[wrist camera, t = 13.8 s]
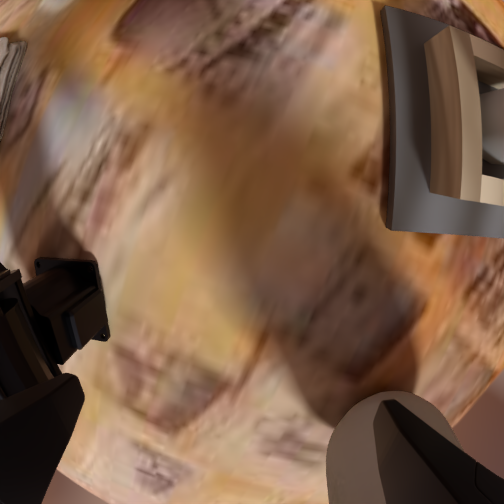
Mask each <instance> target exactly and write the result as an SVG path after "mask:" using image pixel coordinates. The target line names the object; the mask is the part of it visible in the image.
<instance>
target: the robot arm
mask: <svg viewBox="0 0 504 504" xmlns="http://www.w3.org/2000/svg"><path fill="white" fill-rule="evenodd" d="M39 263H40V264H39ZM34 264H35V270H36V275H37V276H36V277H34V278H32V279H30V280H29V281H27V282H25V283H22V280H21V278H22V276H21V273H20V270H19V269H17V270H13V271H10V270H8V269H6V268H5V267H4V266H3V265H2V264H1V263H0V504H41V503H42V501H43V498H44V496H45V494H46V491H47V489H48V487H49V484H50V482H51V480H52V477H53V475H54V473H55V470H56V468H57V466H58V464H59V462H60V460H61V458H62V455H63V453H64V451H65V449H66V447H67V445H68V443H69V440H70V438H71V436H72V433H73V431H74V428H75V425H76V422H77V419H78V417H79V414H80V411H81V409H82V406H83V403H84V400H85V395H84V392H83V389H82V387H81V384H80V381H79V379H78V377H77V376H76V375H73V374H70V373H63V374H62V372H61V370H60V368H59V367H58V365H57V364H60V365H63V364H64V363H65V362H66V361H67V360H68V359H69V358H70V357H71V356H72V355H73V354H74V353H75V352H76V351H77V350H81V349H82V348H83V347H84V346H85V345H86V344H87V343H88V342H89V341H90V340H91V339H93V340H98V341H103V342H106V341H107V340H108V339H109V338H110V331H109V327H108V319H107V314H106V309H105V303H104V298H103V292H102V290H101V284H100V277H99V271H98V266H97V264H96V262H95V261H92V260H77V259H59V258H42V257H40V258H37V259H36V260H35V262H34ZM90 266H91V267H92V269H93V270H91V269H90ZM103 334H104V335H105V336H104V335H103ZM373 430H374V438H375V446H376V454H377V463H378V470H379V475H380V479H381V484H382V488H383V492H384V497H385V501H386V504H504V479H503V478H501V477H499V476H497V475H496V474H495V473H493V472H491V471H490V470H489V469H487V468H486V467H484V466H483V465H482V464H480V463H479V462H476V460H475V459H473V458H472V457H471V456H469V455H468V454H467V453H465V452H464V451H463V450H461V449H460V448H458V447H457V446H456V445H454V444H453V443H452V442H450V441H449V440H448V439H447V438H445V437H444V436H443V435H441V434H440V433H439V432H437V431H436V430H435V429H433V428H432V427H431V426H429V425H428V424H427V423H426V422H424V421H423V420H422V419H420V418H419V417H418V416H416V415H415V414H414V413H413V412H411V411H410V410H409V409H407V408H406V407H405V406H404V405H402V404H401V403H400V402H398V401H397V400H396V399H388V400H382V401H381V402H380V404H379V407H378V409H377V412H376V415H375V417H374V420H373Z"/></svg>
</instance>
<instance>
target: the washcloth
mask: <svg viewBox="0 0 504 504" xmlns="http://www.w3.org/2000/svg"><path fill="white" fill-rule="evenodd" d="M26 46H27V42H26V41H24V42H23V41H20V42H12V43H9V40H8V38H7V37H2V38H0V141H1V139H2V136H3V132H4V128H5V123H6V119H7V115H8V110H9V105H10V100H11V95H12V92H13V89H14V85H15V82H16V79H17V76H18V73H19V70H20V66H21V64H22V61H23V58H24V55H25V51H26Z"/></svg>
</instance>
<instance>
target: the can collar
mask: <svg viewBox="0 0 504 504" xmlns="http://www.w3.org/2000/svg"><path fill="white" fill-rule="evenodd" d="M380 12H381V19H382V26H383V33H384V41H385V49H386V59H387V71H388V85H389V105H390V171H389V192H388V207H387V219H386V228H388V229H390V230H392V231H409V232H425V233H440V234H455V235H468V236H481V237H493V238H504V165H500V164H491V163H489V162H487V161H486V160H484V159H483V158H482V122H481V107H480V96H479V94H483V93H487V92H491V91H494V90H498V89H502V88H504V50H503V49H501V48H499V47H497V46H495V45H493V44H491V43H489V42H487V41H485V40H483V39H481V38H479V37H477V36H474V35H472V34H470V33H468V32H465V31H463V30H460V29H458V28H455V27H453V26H450V25H448V24H445V23H442V22H440V21H437V20H434V19H431V18H428V17H425V16H422V15H419V14H415V13H412V12H409V11H405V10H401V9H398V8H394V7H390V6H386V5H385V6H384V7H383V9H382V10H381V11H380Z"/></svg>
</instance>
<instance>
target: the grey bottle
mask: <svg viewBox="0 0 504 504" xmlns="http://www.w3.org/2000/svg"><path fill="white" fill-rule="evenodd" d="M388 399H396V400H397V401H398V402H400V403H401V404H402V405H404V406H405V407H406V408H407V409H409V410H410V411H411V412H413V413H414V414H415V415H416V416H418V417H419V418H420V419H422V420H423V421H424V422H426V423H427V424H428V425H429V426H431V427H432V428H433V429H435V430H436V431H437V432H439V433H440V434H441V435H443V436H444V437H445V438H447V439H448V440H449V441H450V442H452V443H453V444H454V445H456V446H457V447H458V448H460V449H461V450H463V448H462V446H461V444H460V443H459V441H458V439H457V437H456V435H455V433H454V432H453V430H452V428H451V426H450V425H449V423H448V422H447V420H446V418H445V417H444V416H443V414H442V413H441V412H440V411H439V410H438V409H437V408H436V407H435V406H434V405H432V404H431V403H430V402H428V401H426V400H425V399H423V398H421V397H419V396H417V395H415V394H412V393H409V392H405V391H386V392H379V393H377V394H375V395H372V396H370V397H367V398H365V399H364V400H362V401H360V402H358V403H357V404H356V405H354V406H353V407H352V408H351V409H350V410H349V411H348V412H347V413H346V414H345V416H344V417H343V418H342V419H341V421H340V422H339V423H338V425H337V426H336V428H335V429H334V431H333V433H332V435H331V438H330V441H329V444H328V448H327V455H326V477H327V487H328V497H329V504H386V501H385V497H384V492H383V488H382V484H381V479H380V475H379V470H378V463H377V454H376V446H375V438H374V430H373V420H374V417H375V415H376V412H377V409H378V407H379V404H380V402H381V401H382V400H388ZM463 451H464V450H463Z"/></svg>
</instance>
